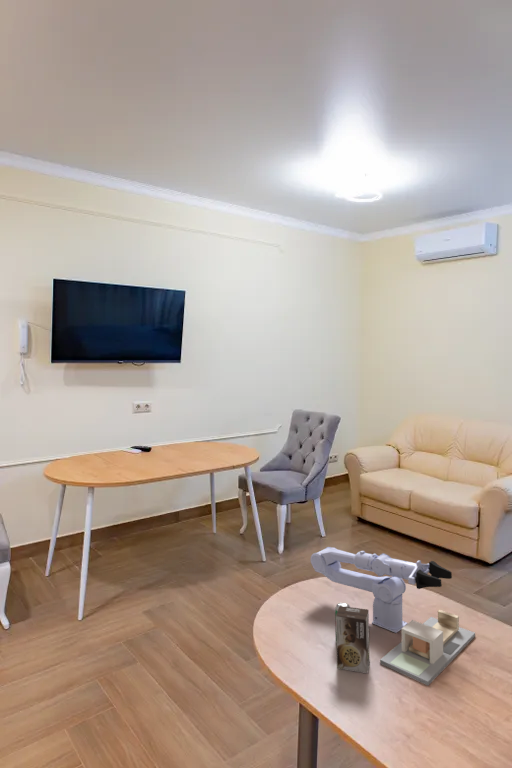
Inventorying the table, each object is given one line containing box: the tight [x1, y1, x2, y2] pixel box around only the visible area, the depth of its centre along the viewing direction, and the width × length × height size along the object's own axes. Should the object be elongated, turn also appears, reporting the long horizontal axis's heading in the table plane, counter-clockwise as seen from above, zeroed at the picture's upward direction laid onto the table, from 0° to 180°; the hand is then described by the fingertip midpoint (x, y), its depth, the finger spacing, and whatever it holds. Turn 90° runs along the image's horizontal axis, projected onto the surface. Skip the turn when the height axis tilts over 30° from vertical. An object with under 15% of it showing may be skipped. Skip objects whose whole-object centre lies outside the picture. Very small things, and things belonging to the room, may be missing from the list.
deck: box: [379, 616, 476, 686], centre depth 155 cm, size 15×34×1 cm, turn 135°
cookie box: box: [335, 606, 371, 674], centre depth 147 cm, size 9×6×16 cm
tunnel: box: [401, 619, 443, 664], centre depth 151 cm, size 10×7×7 cm
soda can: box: [334, 602, 351, 643], centre depth 159 cm, size 5×5×12 cm
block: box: [413, 637, 430, 653], centre depth 151 cm, size 4×4×4 cm
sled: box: [409, 609, 460, 659], centre depth 157 cm, size 6×22×5 cm, turn 135°
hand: (446, 579), depth 155 cm, fingers open, 7 cm apart
